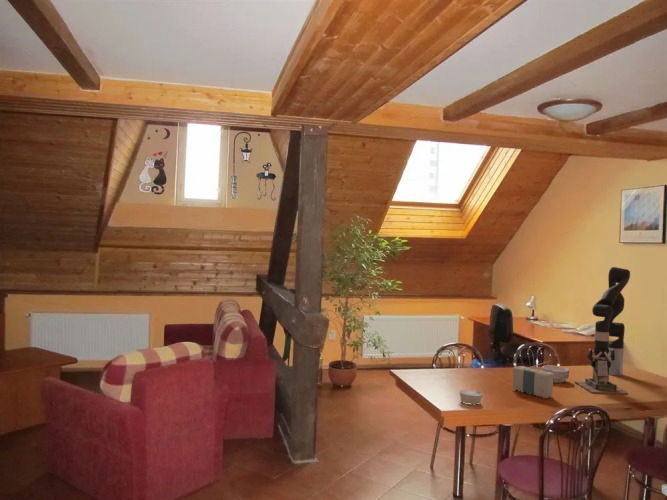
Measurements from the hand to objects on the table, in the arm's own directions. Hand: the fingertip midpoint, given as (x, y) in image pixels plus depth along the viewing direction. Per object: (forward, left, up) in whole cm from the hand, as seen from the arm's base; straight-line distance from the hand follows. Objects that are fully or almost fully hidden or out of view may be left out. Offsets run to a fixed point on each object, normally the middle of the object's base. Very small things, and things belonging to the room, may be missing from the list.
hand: (600, 367), depth 308 cm
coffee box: (0, 0, -11) cm, 11 cm away
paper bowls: (-15, -20, -12) cm, 28 cm away
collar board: (0, 0, -12) cm, 12 cm away
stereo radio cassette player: (+15, -44, -12) cm, 48 cm away
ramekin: (+35, -83, -13) cm, 91 cm away
